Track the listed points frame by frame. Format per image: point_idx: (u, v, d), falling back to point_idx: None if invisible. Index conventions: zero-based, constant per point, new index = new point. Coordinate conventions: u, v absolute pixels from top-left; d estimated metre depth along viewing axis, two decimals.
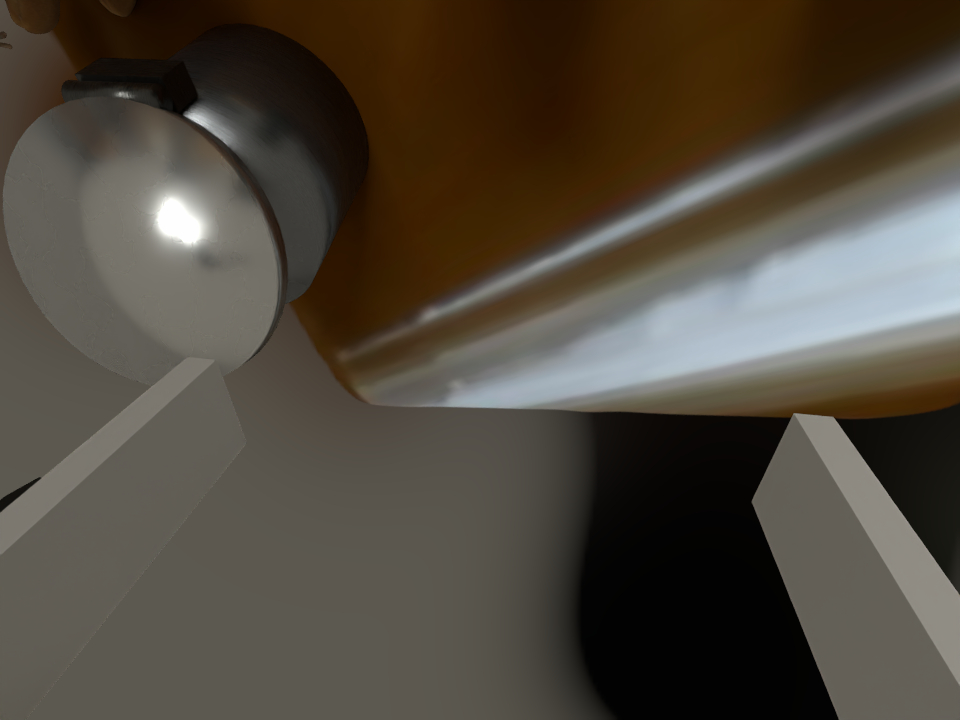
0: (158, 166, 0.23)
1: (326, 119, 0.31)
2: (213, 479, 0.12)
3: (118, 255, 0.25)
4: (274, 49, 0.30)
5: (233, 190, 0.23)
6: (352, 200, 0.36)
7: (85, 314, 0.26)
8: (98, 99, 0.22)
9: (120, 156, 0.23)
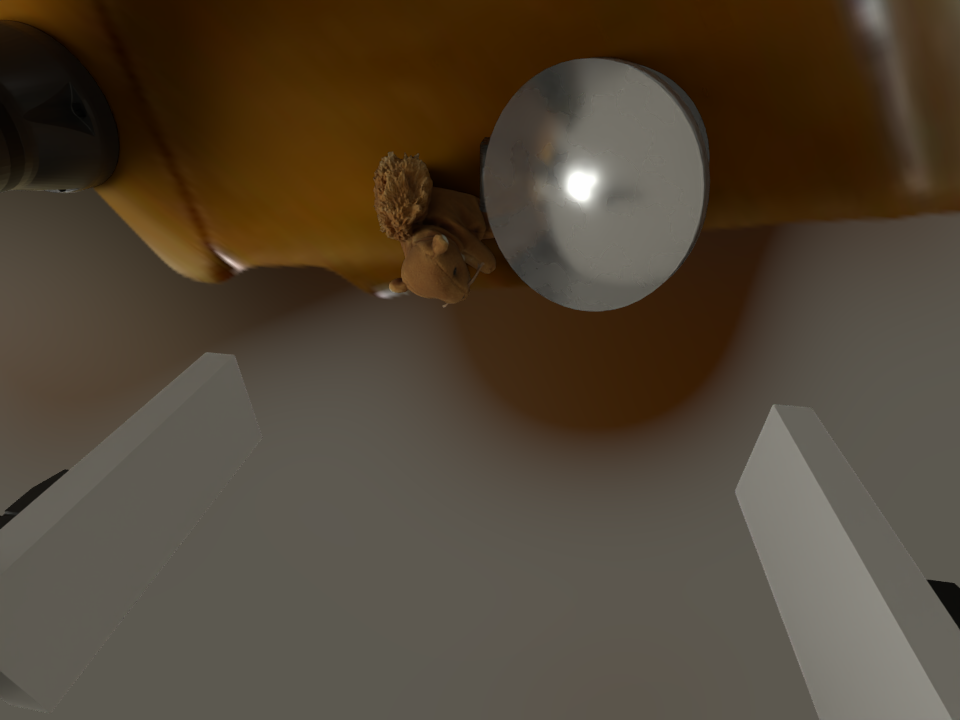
0: (519, 154, 0.30)
1: None
2: (231, 473, 0.12)
3: (573, 217, 0.30)
4: None
5: (534, 89, 0.28)
6: None
7: (615, 272, 0.30)
8: (485, 186, 0.33)
9: (513, 184, 0.32)
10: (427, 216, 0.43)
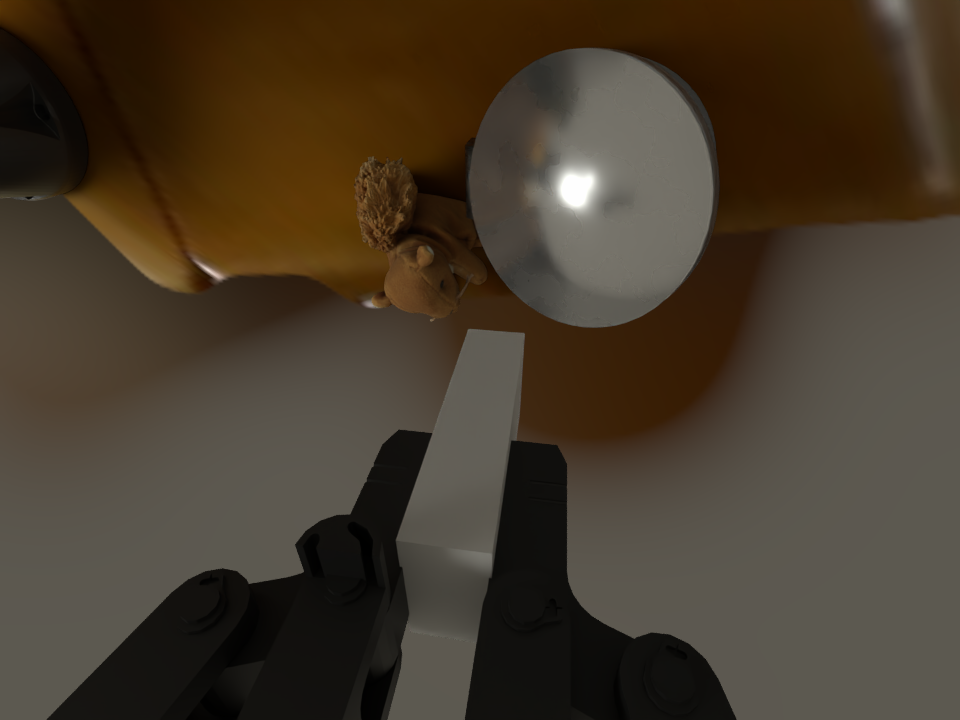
0: (507, 156, 0.28)
1: None
2: None
3: (567, 224, 0.27)
4: None
5: (523, 84, 0.25)
6: None
7: (614, 285, 0.27)
8: (471, 191, 0.30)
9: (501, 188, 0.29)
10: (412, 224, 0.40)
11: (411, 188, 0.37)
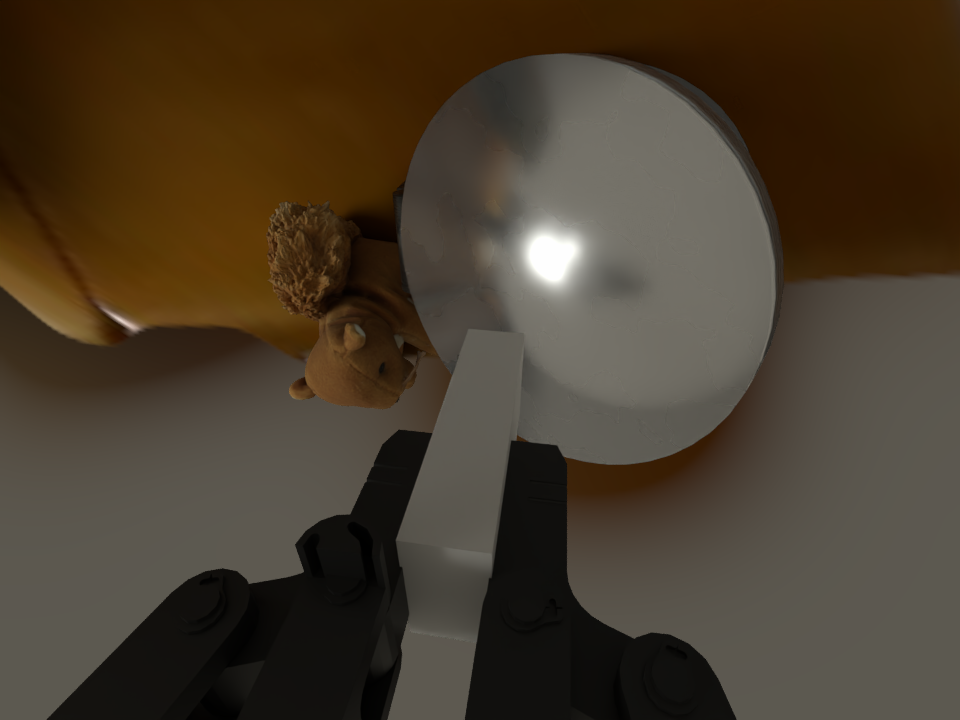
0: (448, 215, 0.18)
1: None
2: None
3: (538, 319, 0.18)
4: None
5: (463, 110, 0.16)
6: None
7: (608, 412, 0.18)
8: (404, 256, 0.21)
9: (443, 258, 0.20)
10: (349, 283, 0.31)
11: (340, 242, 0.28)
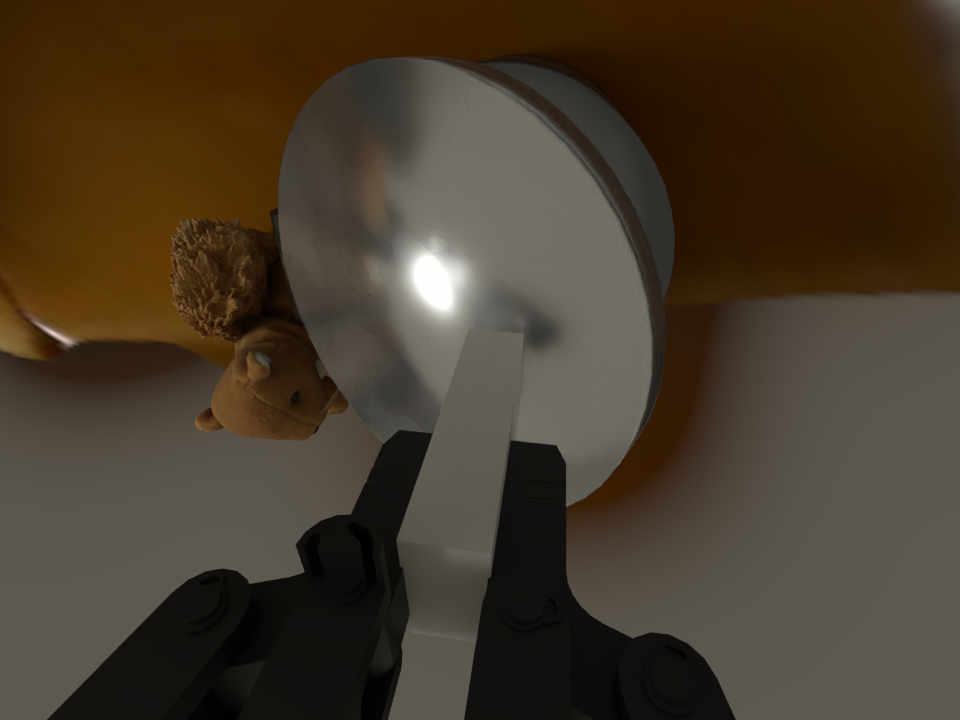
0: (322, 237, 0.16)
1: None
2: None
3: (421, 354, 0.16)
4: None
5: (318, 121, 0.14)
6: (584, 78, 0.22)
7: None
8: (290, 280, 0.19)
9: (325, 284, 0.18)
10: (270, 303, 0.29)
11: (250, 261, 0.26)
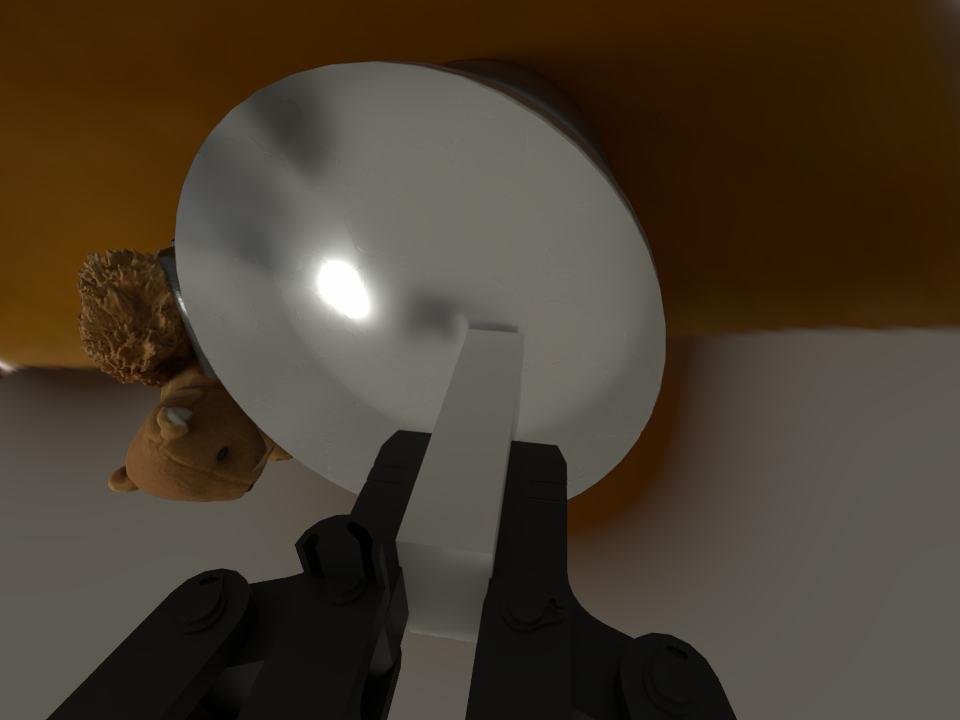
0: (253, 276, 0.14)
1: None
2: None
3: (404, 382, 0.15)
4: None
5: (244, 139, 0.12)
6: (547, 86, 0.19)
7: None
8: (198, 335, 0.16)
9: (258, 329, 0.15)
10: None
11: (172, 299, 0.23)
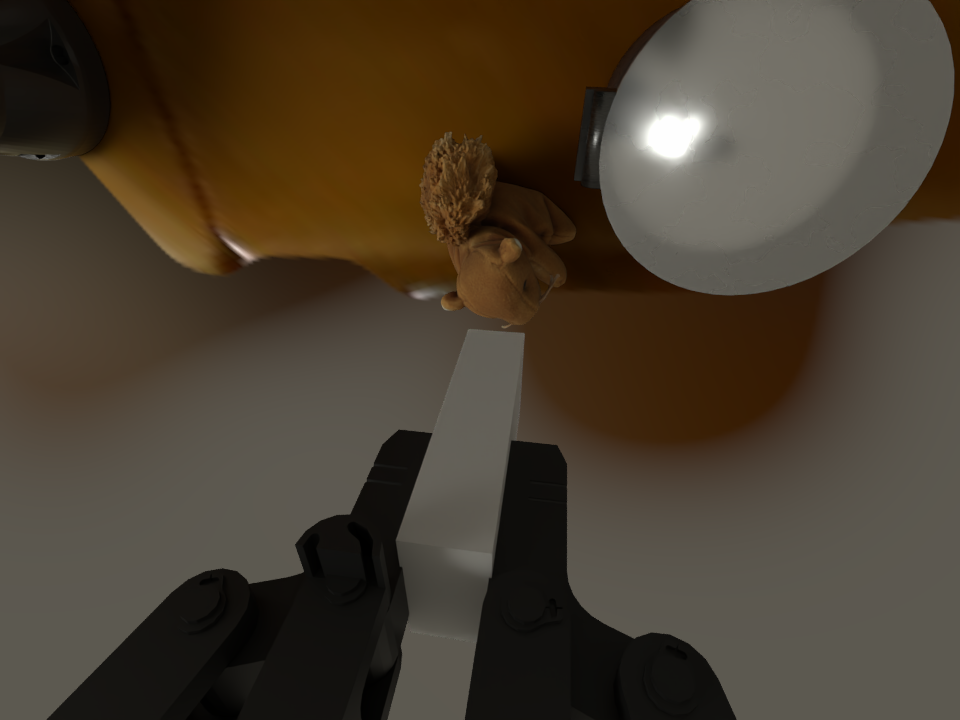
0: (672, 100, 0.22)
1: None
2: None
3: (749, 177, 0.23)
4: (619, 67, 0.31)
5: (715, 2, 0.20)
6: None
7: (801, 239, 0.24)
8: (602, 151, 0.24)
9: (654, 143, 0.23)
10: (486, 215, 0.34)
11: (492, 171, 0.31)
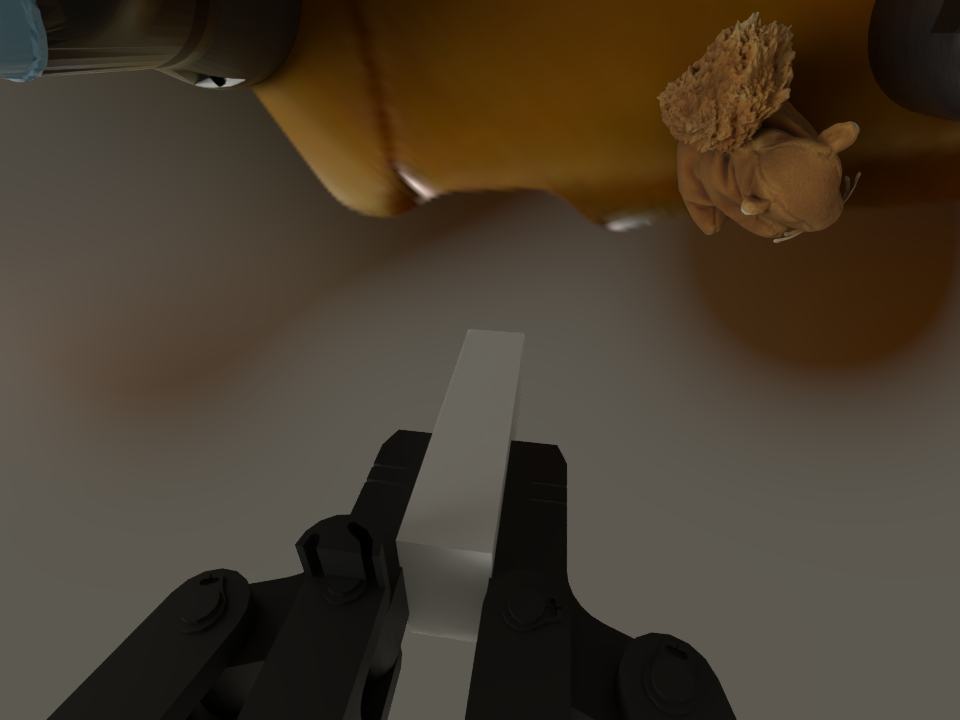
0: None
1: None
2: None
3: None
4: None
5: None
6: None
7: None
8: None
9: None
10: None
11: (793, 58, 0.28)
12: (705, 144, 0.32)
